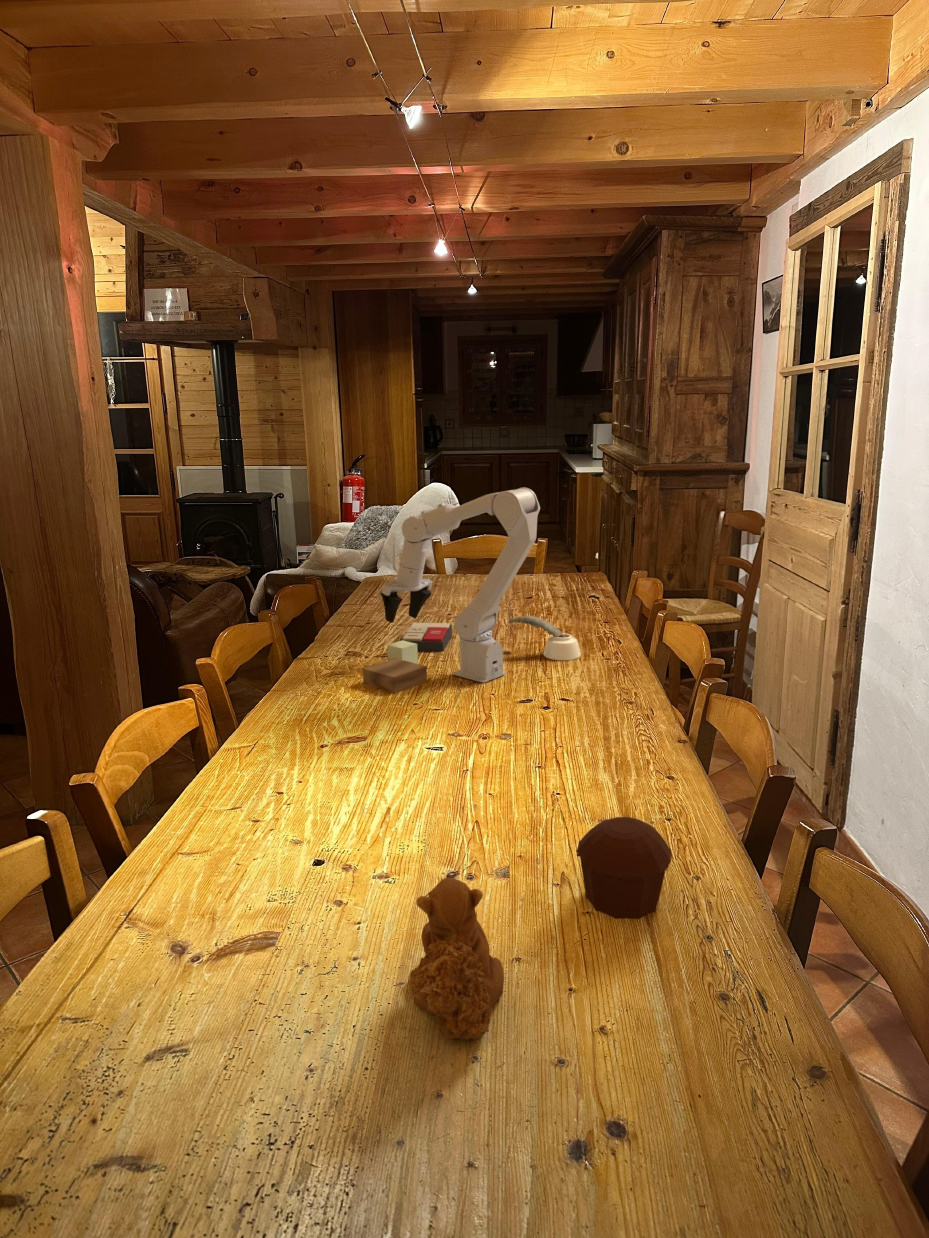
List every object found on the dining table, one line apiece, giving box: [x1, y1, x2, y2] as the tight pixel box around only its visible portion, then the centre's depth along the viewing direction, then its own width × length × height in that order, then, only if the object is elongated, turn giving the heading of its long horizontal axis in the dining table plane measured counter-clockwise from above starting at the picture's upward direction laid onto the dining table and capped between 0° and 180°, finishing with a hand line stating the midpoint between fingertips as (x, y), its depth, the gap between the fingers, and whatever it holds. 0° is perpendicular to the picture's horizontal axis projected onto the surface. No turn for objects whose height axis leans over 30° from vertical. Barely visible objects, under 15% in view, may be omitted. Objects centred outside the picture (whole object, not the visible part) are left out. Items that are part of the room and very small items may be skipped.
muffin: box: [576, 816, 672, 920], centre depth 102 cm, size 12×11×10 cm
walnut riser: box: [362, 658, 428, 694], centre depth 186 cm, size 10×10×4 cm
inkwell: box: [507, 615, 582, 661], centre depth 204 cm, size 9×18×10 cm, turn 91°
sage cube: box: [386, 640, 419, 664], centre depth 199 cm, size 5×5×5 cm
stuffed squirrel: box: [407, 877, 505, 1041], centre depth 83 cm, size 10×14×13 cm
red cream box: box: [400, 622, 453, 652], centre depth 217 cm, size 11×4×15 cm
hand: (401, 618), depth 198 cm, fingers open, 7 cm apart
